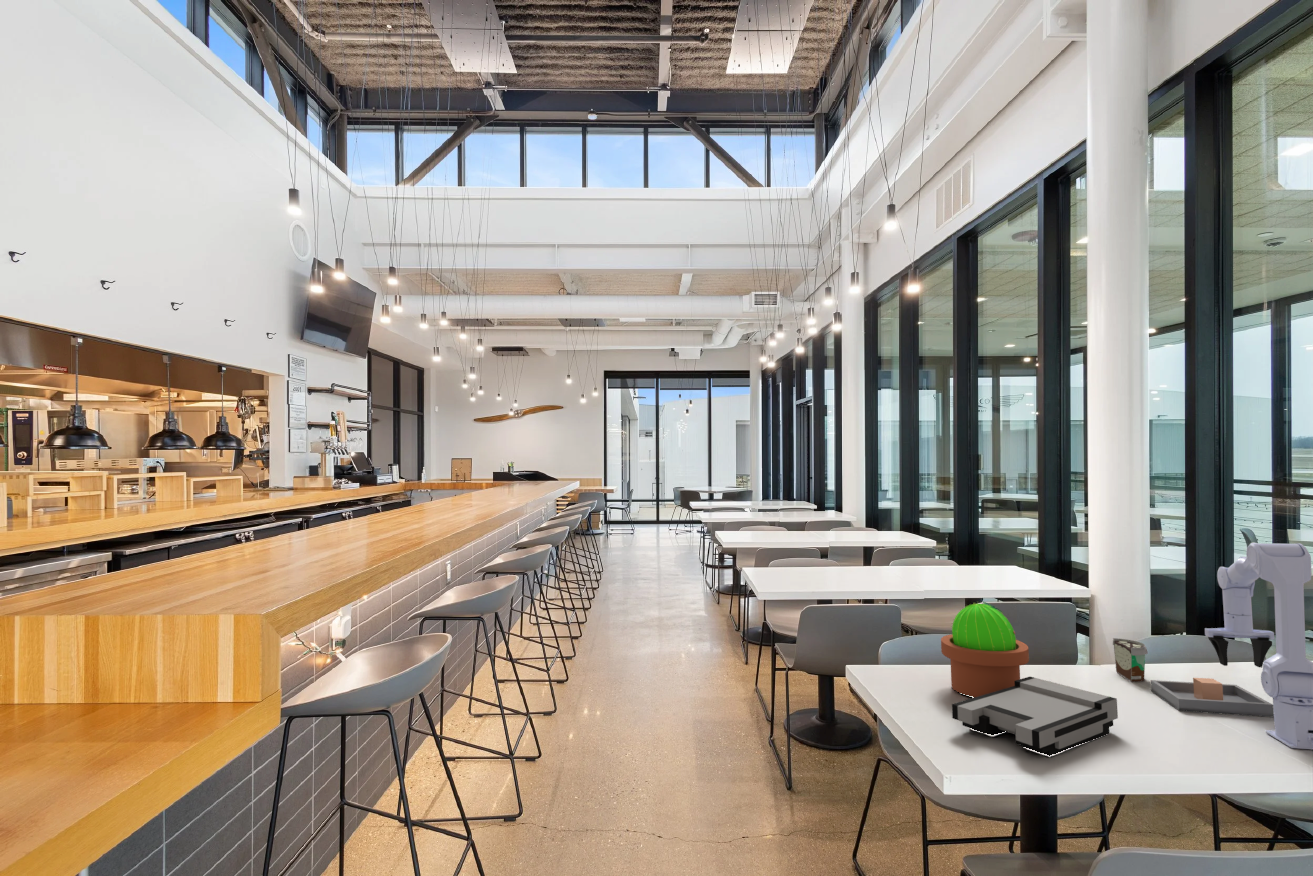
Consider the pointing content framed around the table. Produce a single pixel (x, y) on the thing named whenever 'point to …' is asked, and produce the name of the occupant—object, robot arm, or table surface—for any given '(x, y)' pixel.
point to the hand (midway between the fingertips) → (1241, 665)
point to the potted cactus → (983, 651)
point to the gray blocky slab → (1040, 714)
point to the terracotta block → (1207, 689)
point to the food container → (1130, 659)
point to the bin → (1232, 702)
